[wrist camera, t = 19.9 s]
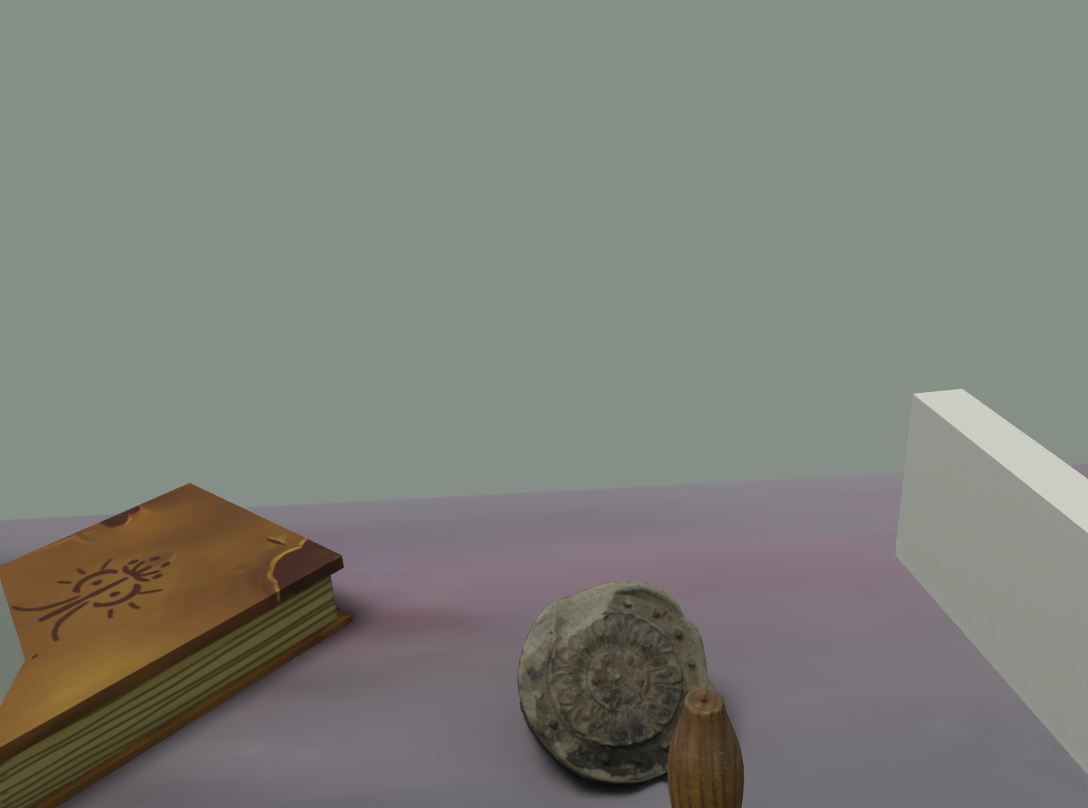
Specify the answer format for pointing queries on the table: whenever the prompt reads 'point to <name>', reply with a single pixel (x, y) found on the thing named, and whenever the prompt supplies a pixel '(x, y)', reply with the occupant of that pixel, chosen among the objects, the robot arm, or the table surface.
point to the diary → (149, 633)
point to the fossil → (610, 680)
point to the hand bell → (705, 756)
